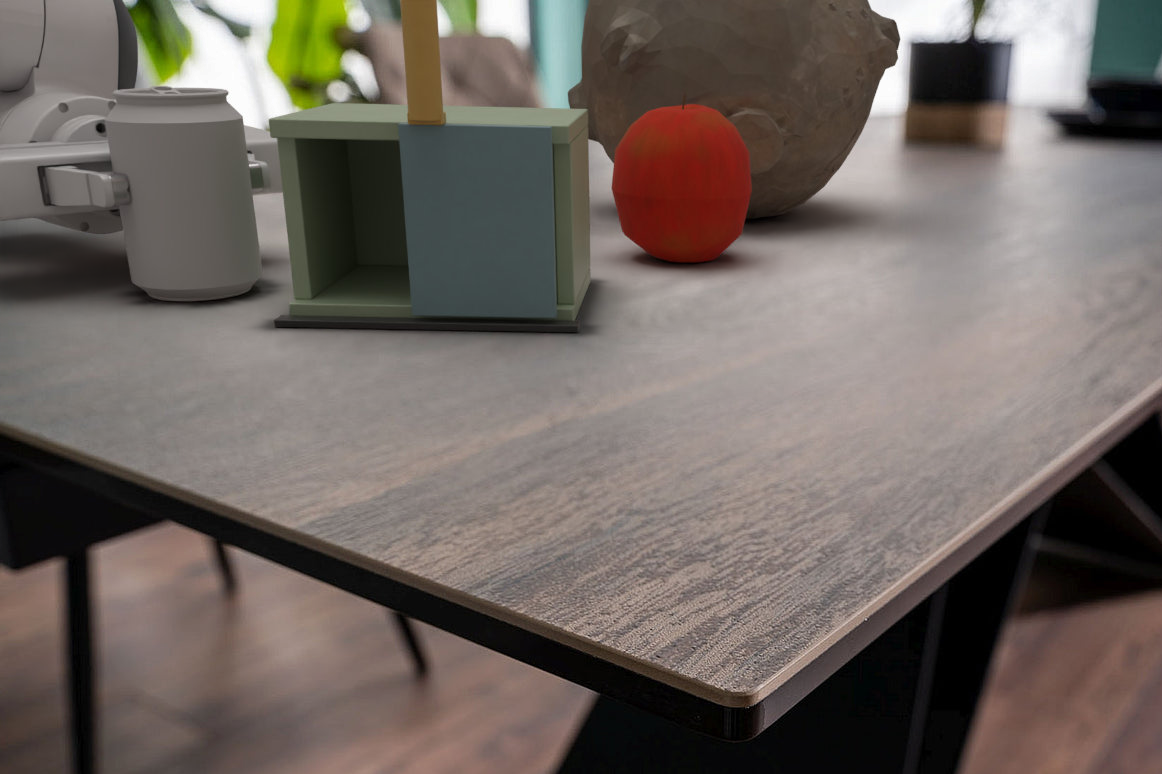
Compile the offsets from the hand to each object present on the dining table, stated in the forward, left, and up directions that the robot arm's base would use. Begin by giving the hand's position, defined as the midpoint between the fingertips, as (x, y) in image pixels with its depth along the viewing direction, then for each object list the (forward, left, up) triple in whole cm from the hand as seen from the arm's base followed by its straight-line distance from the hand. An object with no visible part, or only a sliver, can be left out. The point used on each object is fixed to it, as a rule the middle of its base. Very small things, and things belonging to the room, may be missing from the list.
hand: (192, 184), depth 71 cm
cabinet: (+15, -1, -7) cm, 16 cm away
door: (+18, -8, -6) cm, 21 cm away
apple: (+29, +14, -7) cm, 33 cm away
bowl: (+33, +36, -7) cm, 50 cm away
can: (-1, 0, -7) cm, 7 cm away
